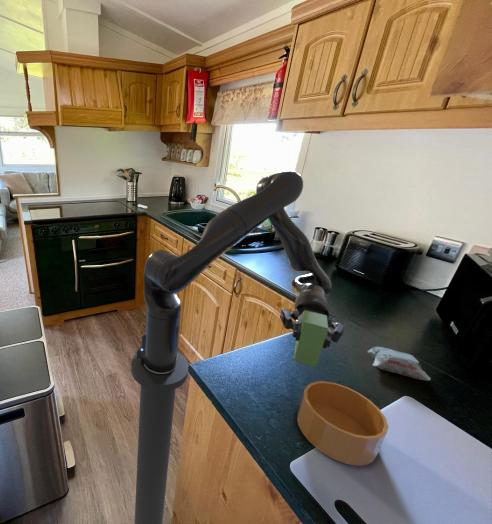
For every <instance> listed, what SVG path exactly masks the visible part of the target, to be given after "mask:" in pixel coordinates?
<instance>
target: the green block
mask: <svg viewBox="0 0 492 524" xmlns="http://www.w3.org/2000/svg"><path fill="white" fill-rule="evenodd" d="M327 331H328V322H327V315H323V314H318V313H314V312H310V311H306V310H304V314H303V318H302V323H301V335H300V339H299V341H297V340H295V345H294V354H293V361H294V362H296V363H299V364H302V365H305V366H309V367H312V368H315V369H317V367H318V363H319V361H320V358H321V354H322V350H323V348H322V347H323V344H324V341H325V337H326V334H327Z"/></svg>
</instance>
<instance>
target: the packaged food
mask: <svg viewBox="0 0 492 524" xmlns="http://www.w3.org/2000/svg"><path fill="white" fill-rule="evenodd" d="M367 353H368V354H370V355H371V357H372V358H373V359H374V360H373V363H372V365H371V366H372V367H374V368H378V369H379V370H381V371H386V372H390V373H394V374H397V375H400V376H404V377H407V378H411V379H415V380H421V381H427V382H430V381H431V380H432V378H431V377H430V376H429V375H428V374H427V373H426V371H424V370H423V368H422V366H421V363H420V362H419V360H418V359H417V358H416V357H414V355H412V354H409V353H406V352H402V351H397V350H395V349H391V348H387V347H383V346H373V347H371V348H369V349H368V350H367Z"/></svg>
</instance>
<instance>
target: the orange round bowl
mask: <svg viewBox="0 0 492 524" xmlns="http://www.w3.org/2000/svg"><path fill="white" fill-rule="evenodd" d="M296 420H297V425H298V427H299V430H300V431H301V433H302V435H303V436H304V437H305V439H306V440H307V441H308V442H309V443H310V444H311V445H312V446H313V447H315V448H316V449H317V450H318V451H320V452H321V453H323V455H326V456H327V457H329V458H331V459H333V460H335V461H336V462H340V463H342V464H346V465H349V466H357V467H358V466H359V467H361V466H367V465H370V464H371V463H372V462H374V460H375V459H377V456H378V454H379V451H380V450H381V446H382V445H383V442H384V440H385V438H386V436H387V433H388V429H389V424H388V421H387V418H386V416H385V415H384V413H383V412H382V410H381V409H380V408H379V407H378V406H377V405H376V404H375V403H374V402H373V401H372V400H370V399H369V398H367V397H366V396H365V395H363V394H362V393H360V392H358V391H356V390H354V389H352V388H350V387H348V386H346V385H343V384H340V383H336V382H332V381H325V380H320V381H313V382H311V383H309V384H307V385H306V387H305V388H304V390H303V393H302V397H301V400H300V403H299V407H298V411H297V416H296Z"/></svg>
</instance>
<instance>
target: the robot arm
mask: <svg viewBox="0 0 492 524" xmlns="http://www.w3.org/2000/svg"><path fill="white" fill-rule="evenodd" d="M303 189H304V180H303V177H302V175H301V174H300V173H298V172H296V171H295V170H283V171H282V170H281V171H278V172H276V173H273V174H269V175H267V176H265V177H263V178H261V179H260V180H259V181H258V183H257V184H256V189H255V194H253V195H251V196H249V197H247V198H244V199H242V200H240V201H238V202H236V203H234V204H232V205H230V206H228V207H227V208H225V209H223V210H222V211H221V212H219V213H217V214H216V215H215V216H214V217H212V218H211V219H210V220H209V221H208V222H207V223H206V225H205V227H204V229H203V232H202V234H201V237H200V239H199V241H198V242H197V243H196V245H194V246H193V247H192V248H190V249H189V250H187V251H186V252H185V253H183V254H181V255H179V256H178V255H176V254H175V253H172V252H170V251H168V250H165V249H159V250H155V251H153V252H152V253H151V254H150V255H149V256H148V257H147V259H146V261H145V264H144V269H143V298H144V303H145V307H146V308H145V329H144V333H143V334H142V336H141V344H140V346H139V347H138V348H137V350H136V353H137V358H139V359H141V365H143V366H144V367H145V369H146V370H147V371H149V372H150V373H152V374H155V375H167V374H170V373H172V372H173V371H174V370H175V369H176V362H177V356H178V354H177V352H178V349H179V339H180V338H179V337H180V327H181V318H182V302H181V300H180V298H179V297H178V295H177V294H178V293H181V292H182V291H183V290H185V289H186V288H188V287H189V285H191V284H192V283H193V282H194V281H195V280H196V279H197V278H198V277H199V276H200V275H201V274H202V273H203V272H204V271H206V269H207V268H208V267H210V265H211V264H213V263H214V262H215V261H216V260H218V259H219V258H220V257H221V256H222V255H224V254H225V253H226V252H227V251H229V250H230V249H231V248H233V247H234V246H236V245H237V244H239V243H240V242H241V241H242V240H244V239H245V238H246V237H247V236H248V235H249V234H251V233H252V232H253V231H254V230H256V229H257V228H258V227H259V226H261V225H262V224H263V223H264V222H266V221H267V220H269V222H270V224H271V226H272V227H273V229H274V231H275V232H276V234H277V236H278V238H279V240H280V242H281V244H282V247H283V249H284V252H285V254H286V258H287V260H288V262H289V265H290V266H289V267H290V268H291V269H292V270H293V271H295V272H309V273H307V274H303V275H298V276H296V277H294V278H293V279H292V281H291V289H292V292H293V293H294V295H295V297H296V298H295V301H294V309H293V310H292V311H290V310H288V308H287V307H286V308H285V307H282V308H281V311H280V315H279V319H280V321H281V324H282V326H283V327H284V328H285V329H286V330H291V331H292V338H294V339H295V341H299V339H300V335H301V323H302V318H303V314H304V310H306V311H310V312H314V313H318V314H323V315H327V322H328V331H327V334H326V337H325V341H324V344H323V347H322V349H325V350H326V349H327V348H329V347H330V346H331V343H332V342H333V343H338V342H339V340H340V339H341V337H342V336H343V334H344V332H345V328H346V325H347V324H346V323H345V322H343V321H340V322H334V321H333V320H332V318H331V317H330V310H329V304H328V301H327V297H326V295H328V294H329V293H331V291H332V288H333V284H332V281H331V279H330V277H329V276H328V275H327V274H326V272H325V271H324V270H323V268H322V266H321V265H320V264H319V262H318V261H317V259H316V256H315V253H314V250H313V247H312V244H311V242H310V240H309V238H308V237H307V235H306V234H305V233H304V232H303V230H302V229H301V228H300V227H299V226H298V225H297V224H296V223H295V222H294V221H293V220H292V219H291V217H290V216H289V215H288V213H287V210H286V208H285V207H288V206H289V205H291V204H293V203H294V202H296V200H298V199H299V198H300V196H301V194H302V193H303ZM331 328H332V329H331Z"/></svg>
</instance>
